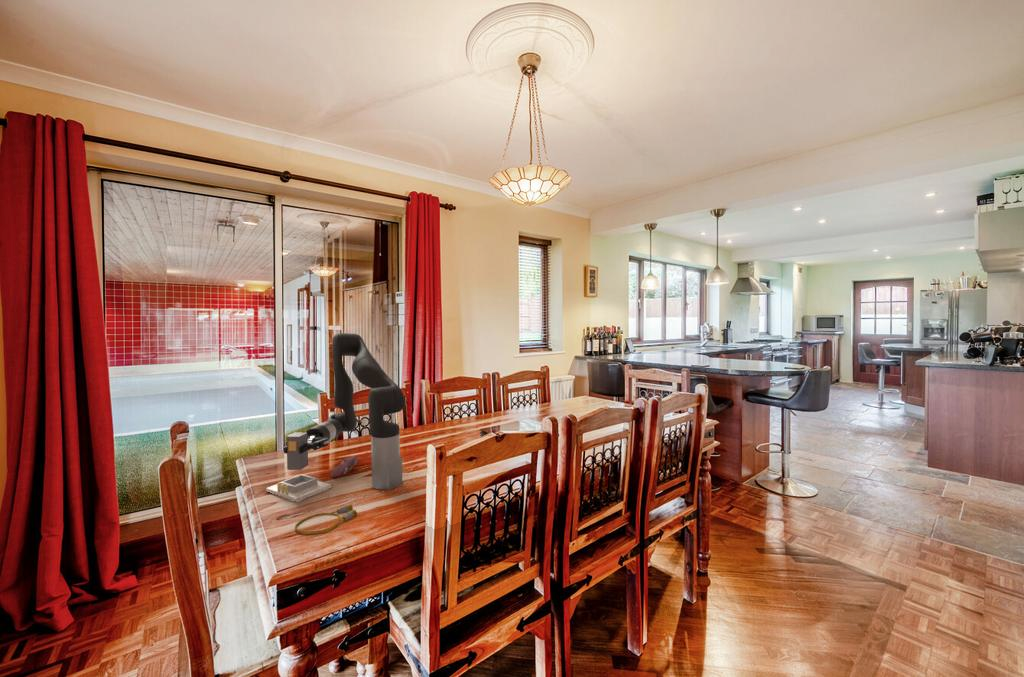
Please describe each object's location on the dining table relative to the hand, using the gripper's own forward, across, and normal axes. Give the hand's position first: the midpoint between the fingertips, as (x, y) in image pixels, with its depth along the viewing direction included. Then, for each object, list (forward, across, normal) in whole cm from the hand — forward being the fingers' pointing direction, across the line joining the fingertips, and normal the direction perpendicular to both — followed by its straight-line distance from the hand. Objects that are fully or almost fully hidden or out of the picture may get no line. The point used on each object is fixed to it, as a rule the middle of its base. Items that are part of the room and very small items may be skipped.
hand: (292, 450), depth 131 cm
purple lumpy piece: (-18, +8, +14) cm, 24 cm away
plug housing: (-3, 0, +6) cm, 7 cm away
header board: (-2, 0, +14) cm, 14 cm away
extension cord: (+17, +20, +14) cm, 30 cm away
